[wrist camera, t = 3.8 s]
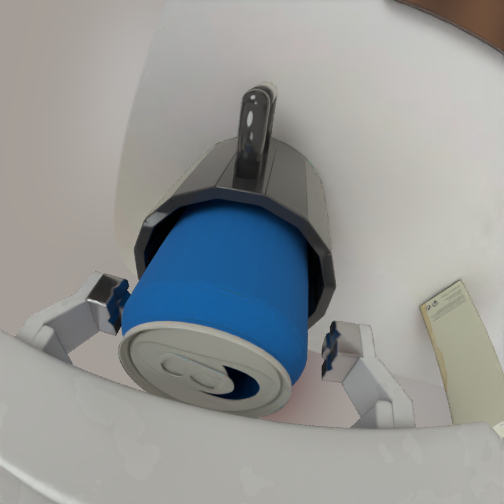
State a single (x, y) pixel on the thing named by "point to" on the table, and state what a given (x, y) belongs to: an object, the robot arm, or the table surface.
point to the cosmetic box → (465, 359)
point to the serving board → (469, 17)
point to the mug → (253, 192)
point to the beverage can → (221, 311)
